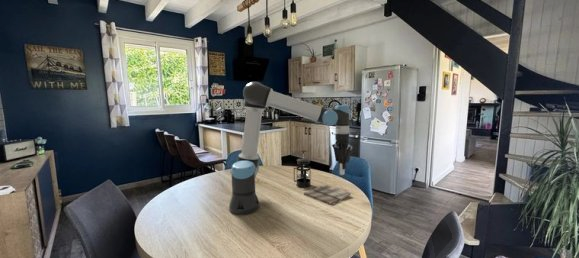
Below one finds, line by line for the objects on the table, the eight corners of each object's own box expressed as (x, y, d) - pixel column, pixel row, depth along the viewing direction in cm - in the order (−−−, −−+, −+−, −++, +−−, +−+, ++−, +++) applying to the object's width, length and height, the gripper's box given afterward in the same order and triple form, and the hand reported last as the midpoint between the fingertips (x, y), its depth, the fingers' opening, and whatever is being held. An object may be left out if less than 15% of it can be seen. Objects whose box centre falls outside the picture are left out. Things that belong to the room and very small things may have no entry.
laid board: (303, 194, 142) (303, 192, 142) (312, 191, 147) (312, 188, 147) (330, 205, 127) (330, 202, 127) (339, 201, 132) (339, 198, 132)
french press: (309, 182, 163) (309, 148, 161) (313, 187, 154) (313, 151, 152) (292, 183, 162) (292, 149, 159) (295, 188, 152) (295, 152, 150)
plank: (314, 190, 147) (313, 188, 147) (323, 186, 153) (323, 184, 153) (340, 200, 132) (340, 198, 132) (350, 194, 138) (350, 192, 138)
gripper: (328, 132, 138) (329, 173, 140) (347, 134, 128) (347, 178, 131) (337, 131, 143) (337, 170, 145) (356, 133, 133) (355, 175, 135)
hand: (342, 174), depth 138 cm, fingers closed
